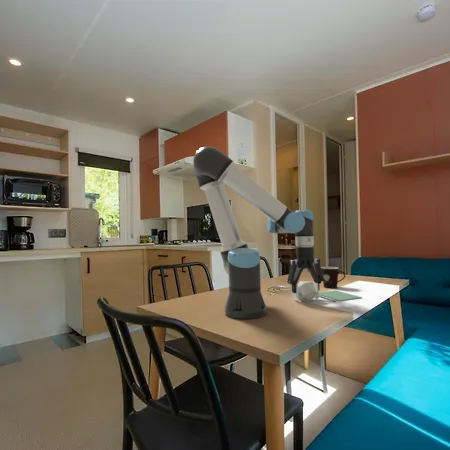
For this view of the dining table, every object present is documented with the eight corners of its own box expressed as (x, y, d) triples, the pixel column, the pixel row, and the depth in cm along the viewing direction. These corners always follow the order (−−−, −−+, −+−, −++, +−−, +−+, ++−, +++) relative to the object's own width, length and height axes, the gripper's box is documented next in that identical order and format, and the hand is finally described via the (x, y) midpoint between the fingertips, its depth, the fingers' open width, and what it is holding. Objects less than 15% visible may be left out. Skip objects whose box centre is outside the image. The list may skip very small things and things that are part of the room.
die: (318, 300, 122) (307, 280, 127) (322, 294, 115) (310, 273, 120) (301, 307, 121) (290, 287, 126) (304, 302, 114) (292, 281, 119)
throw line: (334, 301, 116) (334, 301, 116) (310, 294, 132) (310, 293, 132) (336, 301, 117) (336, 300, 117) (312, 293, 132) (312, 293, 132)
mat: (339, 301, 117) (339, 300, 117) (314, 293, 132) (314, 292, 132) (361, 298, 121) (361, 297, 121) (335, 291, 136) (335, 290, 136)
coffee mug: (318, 286, 149) (317, 267, 149) (331, 285, 151) (331, 266, 151) (332, 290, 138) (331, 270, 138) (347, 289, 140) (346, 268, 140)
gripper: (287, 247, 114) (288, 304, 113) (331, 245, 121) (333, 298, 120) (277, 247, 121) (279, 300, 120) (320, 245, 128) (321, 295, 127)
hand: (306, 299), depth 120 cm, fingers closed on die, 9 cm apart
